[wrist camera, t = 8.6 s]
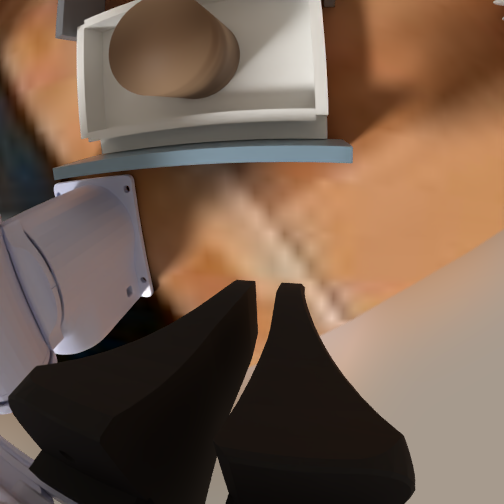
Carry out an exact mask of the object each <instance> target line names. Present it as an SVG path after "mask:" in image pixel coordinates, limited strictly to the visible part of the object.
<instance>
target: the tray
mask: <svg viewBox="0 0 504 504" xmlns="http://www.w3.org/2000/svg"><path fill="white" fill-rule="evenodd" d="M140 1H142V0H135V1H132V2H129V3H126V4H124V5H121V6H118V7H115V8H113V9H110V10H107V11H105V12H102V13H100V14H97V15H95V16H93V17H90V18H88V19H86V20H84V24H83V25H81V26H79V27H77V89H78V107H79V120H80V131H81V139H84V138H88V139H89V142H93V141H98V140H101V148H102V154H101V155H97V156H93V157H90V158H86V159H83V160H79V161H76V162H72V163H69V164H66V165H63V166H59V167H56V168H53V173H54V179H55V180H58V179H64V178H71V177H78V176H85V175H92V174H100V173H108V172H116V171H125V170H135V169H145V168H156V167H168V166H182V165H197V164H216V163H243V162H333V163H352V160H353V147H352V146H351V145H350V144H348V143H347V142H345V141H344V140H343V139H327V115H329V114H328V88H327V69H326V53H325V40H324V28H323V17H322V7H321V0H195V1H197V2H198V3H199V4H200V5H202V6H203V7H204V8H205V9H206V10H208V11H209V12H210V13H211V14H212V15H214V16H215V17H216V18H217V19H218V20H219V21H220V22H222V23H223V24H224V25H225V26H226V27H227V28H228V29H229V30H230V31H231V32H232V33H233V34H234V36H235V37H236V39H237V42H238V45H239V49H240V60H239V65H238V68H237V70H236V73H235V75H234V76H233V78H232V79H231V81H230V82H229V83H228V84H227V85H226V86H225V87H224V88H223V89H221V90H220V91H218V92H217V93H215V94H213V95H211V96H208V97H205V98H200V99H186V98H174V97H160V96H143V95H138V94H135V93H132V92H130V91H128V90H126V89H125V88H124V87H122V86H121V85H120V84H119V83H118V81H117V80H116V79H115V77H114V75H113V73H112V71H111V68H110V64H109V45H110V40H111V37H112V34H113V32H114V30H115V28H116V26H117V24H118V22H119V21H120V20H121V18H122V17H123V16H124V15H125V13H126V12H127V11H128V10H129V9H130V8H132V7H133V6H134V5H135V4H137V3H138V2H140Z"/></svg>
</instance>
